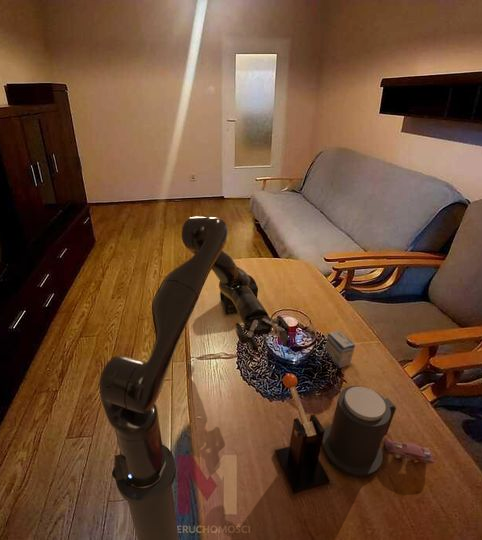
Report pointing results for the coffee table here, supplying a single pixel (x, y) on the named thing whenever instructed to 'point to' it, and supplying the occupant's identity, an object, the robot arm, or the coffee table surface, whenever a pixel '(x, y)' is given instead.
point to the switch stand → (303, 458)
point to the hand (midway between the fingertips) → (272, 346)
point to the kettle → (358, 432)
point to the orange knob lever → (299, 404)
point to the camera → (228, 303)
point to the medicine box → (339, 349)
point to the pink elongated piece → (409, 451)
